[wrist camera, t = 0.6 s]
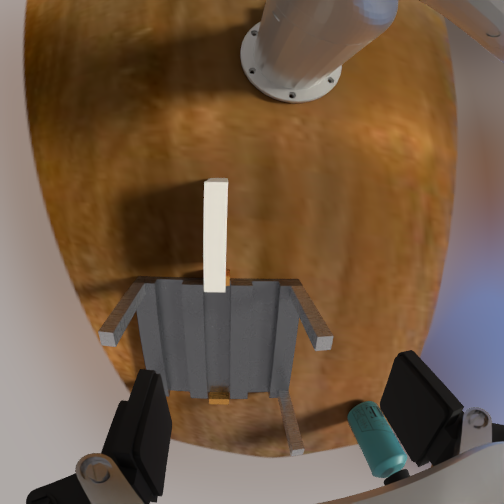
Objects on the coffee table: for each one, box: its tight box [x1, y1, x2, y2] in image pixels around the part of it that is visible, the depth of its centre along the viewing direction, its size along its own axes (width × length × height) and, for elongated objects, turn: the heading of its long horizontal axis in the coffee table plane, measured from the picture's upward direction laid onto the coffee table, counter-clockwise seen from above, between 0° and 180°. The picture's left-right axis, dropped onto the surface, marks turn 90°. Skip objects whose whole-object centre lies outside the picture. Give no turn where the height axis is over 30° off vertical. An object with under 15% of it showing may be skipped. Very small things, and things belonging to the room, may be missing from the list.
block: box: [203, 178, 228, 292], centre depth 30 cm, size 10×2×10 cm, turn 178°
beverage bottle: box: [347, 401, 410, 485], centre depth 37 cm, size 6×7×20 cm
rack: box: [98, 270, 333, 456], centre depth 33 cm, size 21×21×14 cm
